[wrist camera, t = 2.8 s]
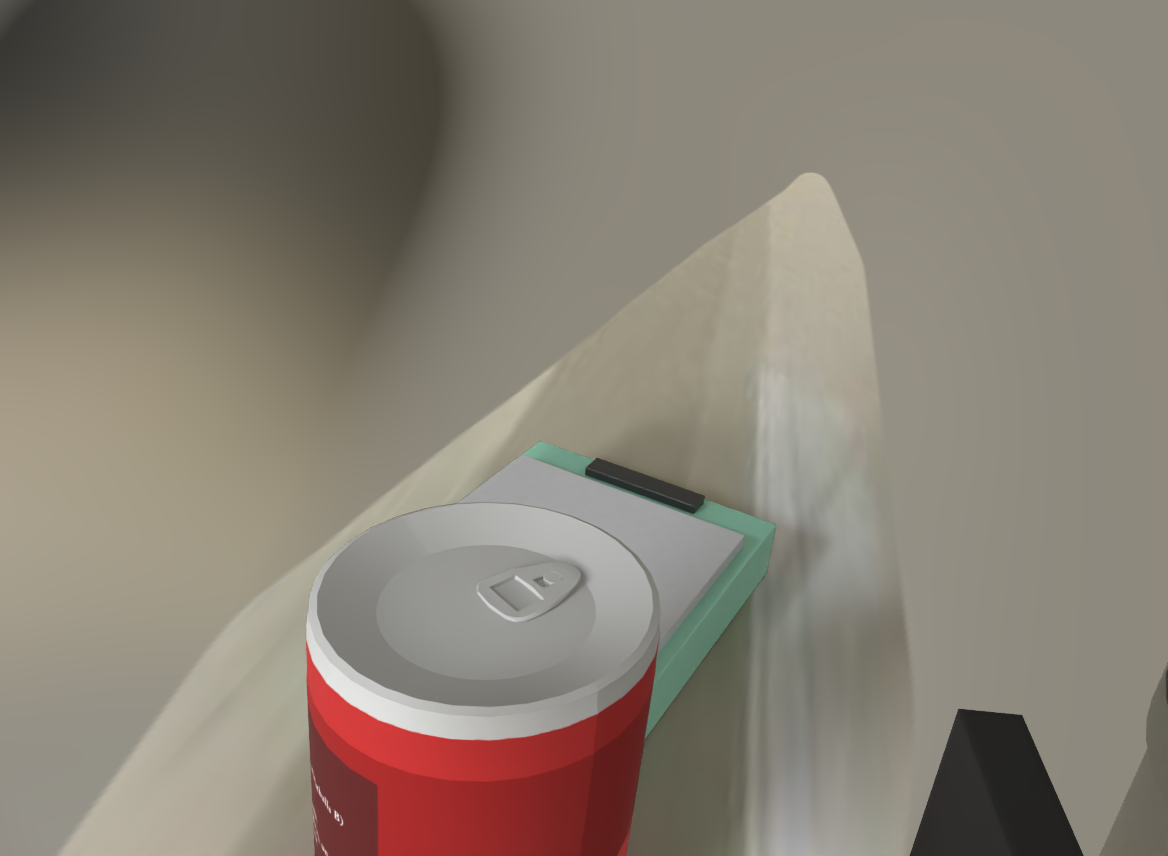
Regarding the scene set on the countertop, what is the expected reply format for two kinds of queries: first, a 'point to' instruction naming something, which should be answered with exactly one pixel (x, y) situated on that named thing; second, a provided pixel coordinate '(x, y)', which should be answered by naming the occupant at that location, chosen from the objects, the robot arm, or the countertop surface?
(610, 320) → the countertop surface
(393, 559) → the canned food
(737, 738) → the countertop surface
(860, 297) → the countertop surface
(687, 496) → the scale
